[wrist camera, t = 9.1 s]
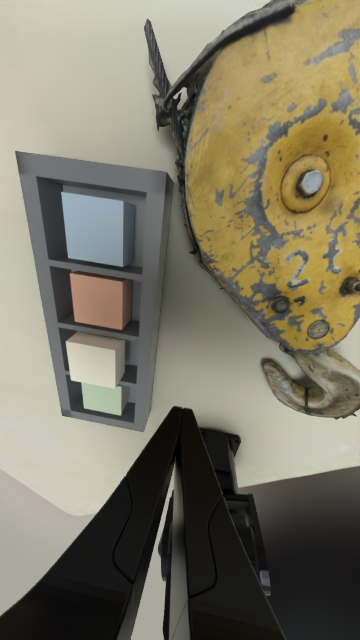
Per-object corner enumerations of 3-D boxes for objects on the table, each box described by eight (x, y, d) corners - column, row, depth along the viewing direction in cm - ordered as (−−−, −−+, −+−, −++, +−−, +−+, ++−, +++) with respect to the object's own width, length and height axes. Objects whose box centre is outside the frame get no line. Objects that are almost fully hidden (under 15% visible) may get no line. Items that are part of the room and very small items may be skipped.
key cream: (124, 372, 21) (115, 388, 18) (84, 364, 21) (70, 380, 19) (125, 336, 19) (115, 350, 17) (81, 328, 19) (65, 341, 17)
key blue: (132, 262, 17) (122, 266, 15) (85, 254, 17) (68, 257, 15) (134, 205, 15) (123, 201, 13) (81, 197, 16) (61, 192, 13)
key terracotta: (131, 319, 20) (122, 330, 17) (88, 311, 20) (74, 321, 18) (132, 275, 18) (122, 282, 16) (86, 268, 18) (69, 273, 16)
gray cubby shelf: (150, 410, 26) (143, 432, 23) (77, 396, 26) (62, 415, 23) (173, 183, 15) (166, 172, 12) (48, 165, 15) (15, 150, 13)
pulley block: (252, 463, 18) (107, -59, 7) (234, 411, 23) (135, 73, 12) (416, 423, 17) (546, -277, 6) (356, 379, 22) (365, -25, 11)
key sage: (128, 399, 24) (121, 415, 22) (94, 392, 25) (83, 408, 22) (129, 371, 22) (121, 386, 20) (92, 364, 23) (80, 379, 21)
